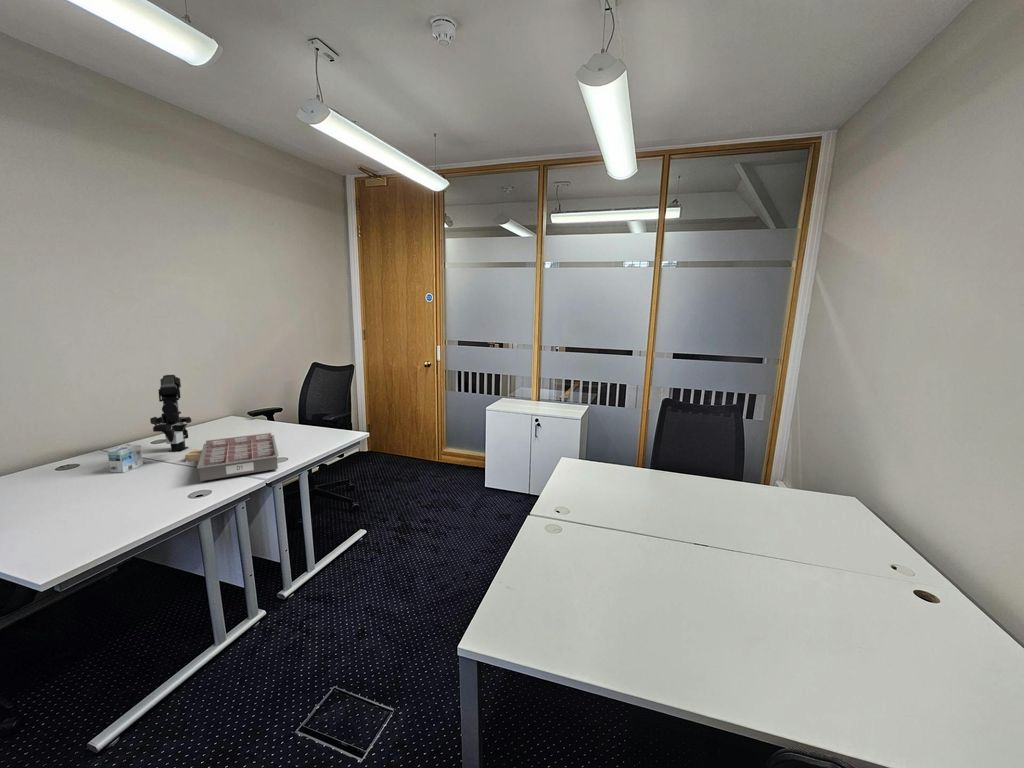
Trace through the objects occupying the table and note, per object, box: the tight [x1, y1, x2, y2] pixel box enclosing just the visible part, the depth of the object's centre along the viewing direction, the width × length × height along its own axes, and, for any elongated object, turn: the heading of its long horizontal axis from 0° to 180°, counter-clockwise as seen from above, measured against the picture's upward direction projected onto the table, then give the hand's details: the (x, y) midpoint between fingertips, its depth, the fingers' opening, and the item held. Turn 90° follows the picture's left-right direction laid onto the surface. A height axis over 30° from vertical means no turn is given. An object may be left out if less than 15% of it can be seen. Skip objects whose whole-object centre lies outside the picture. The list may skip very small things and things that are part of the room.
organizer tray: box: [196, 432, 279, 482], centre depth 210 cm, size 32×40×10 cm
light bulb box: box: [107, 443, 144, 474], centre depth 201 cm, size 11×7×11 cm, turn 179°
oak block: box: [184, 449, 202, 462], centre depth 217 cm, size 8×8×4 cm
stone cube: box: [164, 431, 184, 445], centre depth 211 cm, size 5×5×5 cm
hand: (174, 440), depth 212 cm, fingers closed on stone cube, 5 cm apart
